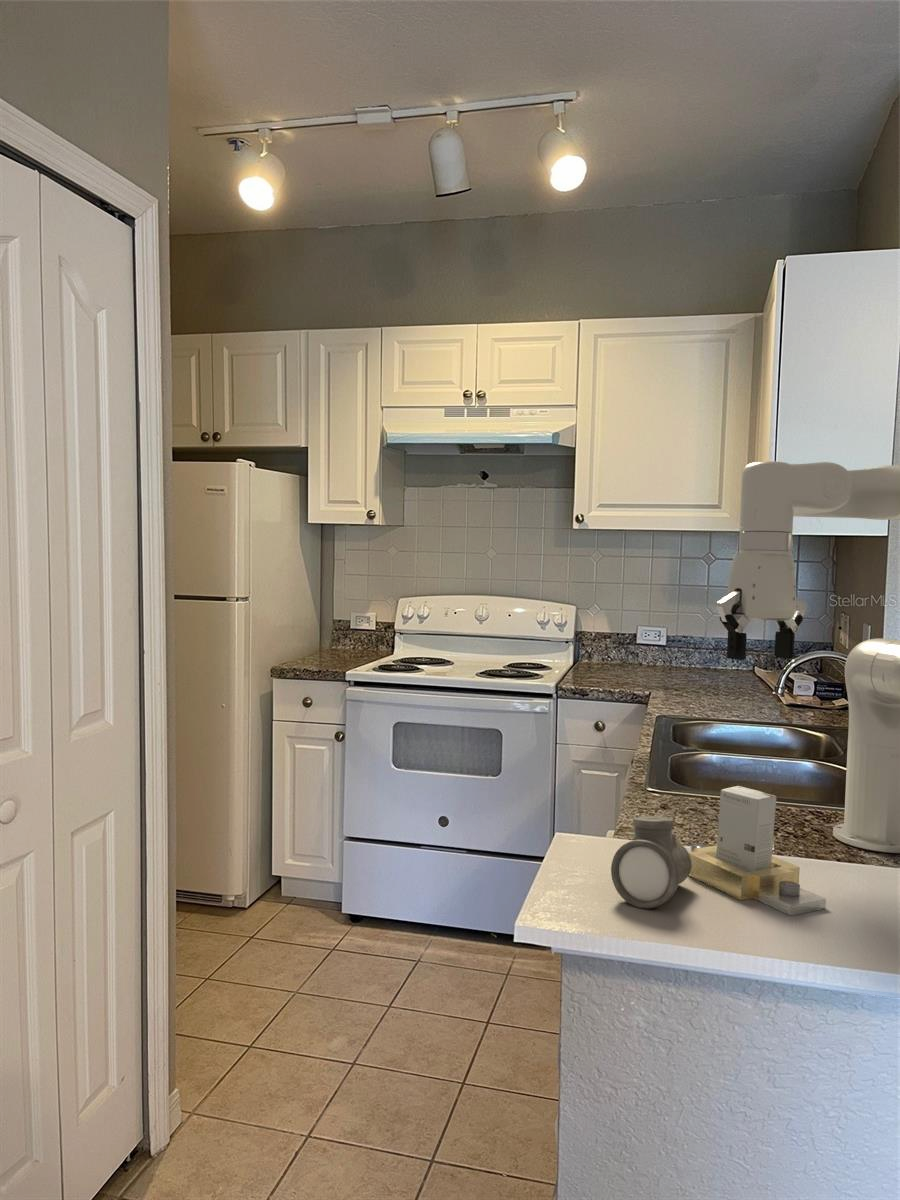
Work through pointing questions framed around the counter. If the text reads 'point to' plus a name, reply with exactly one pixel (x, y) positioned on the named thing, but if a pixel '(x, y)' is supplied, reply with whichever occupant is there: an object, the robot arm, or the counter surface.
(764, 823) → the skincare box
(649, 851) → the pipe fitting
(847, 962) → the counter surface
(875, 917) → the counter surface
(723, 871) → the open yellow tray
